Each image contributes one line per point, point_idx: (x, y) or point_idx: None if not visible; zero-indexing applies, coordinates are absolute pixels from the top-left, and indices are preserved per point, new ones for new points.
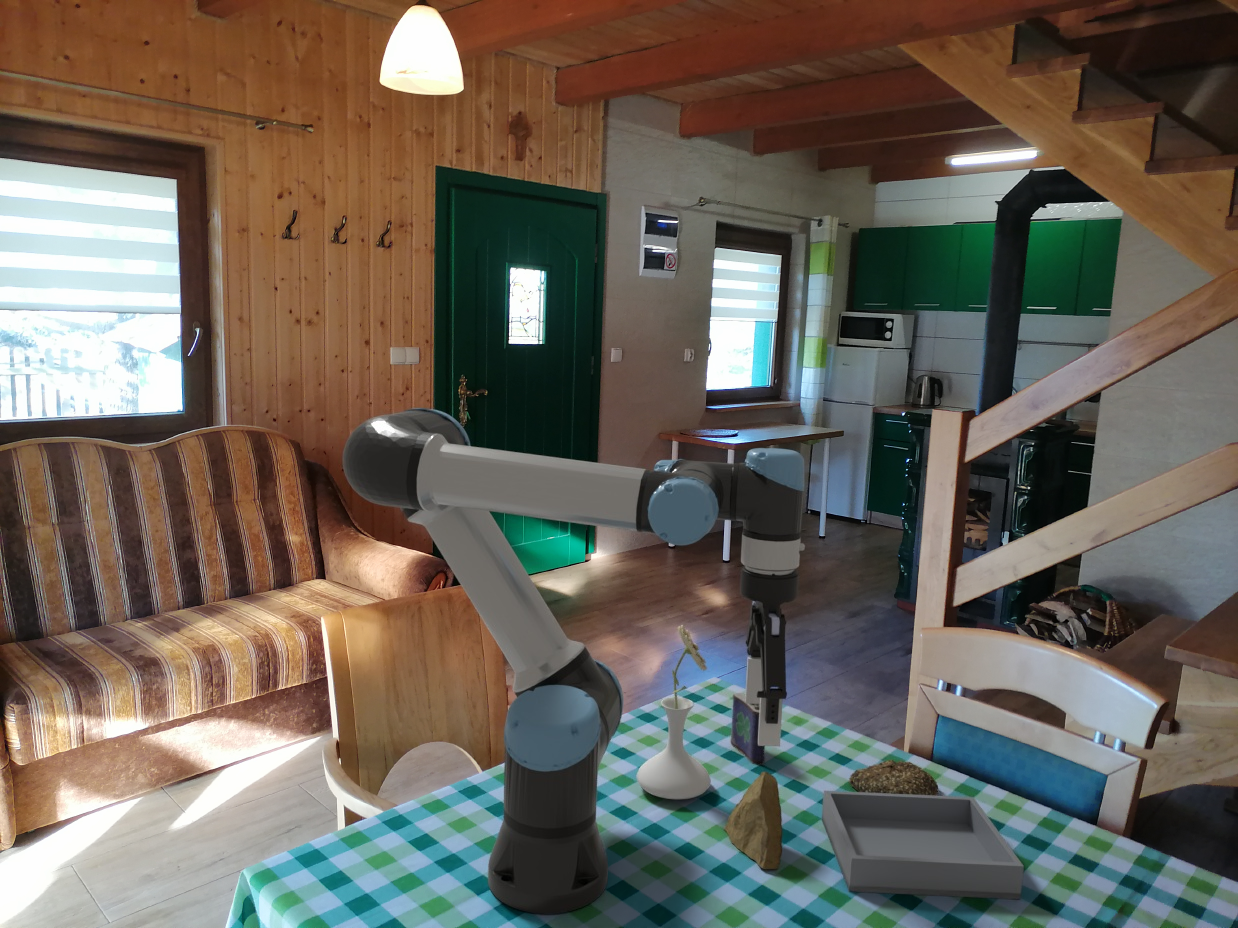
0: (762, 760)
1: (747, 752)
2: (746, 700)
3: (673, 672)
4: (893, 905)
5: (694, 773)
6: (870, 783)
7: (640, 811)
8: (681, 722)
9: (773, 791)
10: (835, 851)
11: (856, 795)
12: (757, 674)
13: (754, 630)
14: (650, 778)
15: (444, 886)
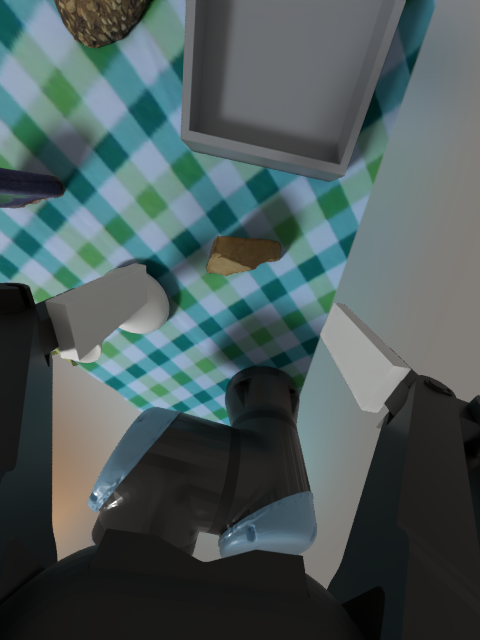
0: (57, 181)
1: (43, 197)
2: (144, 303)
3: None
4: (367, 136)
5: None
6: (112, 6)
7: (181, 331)
8: None
9: (239, 245)
10: (266, 166)
11: (192, 79)
12: (108, 310)
13: (51, 536)
14: (150, 329)
15: None
